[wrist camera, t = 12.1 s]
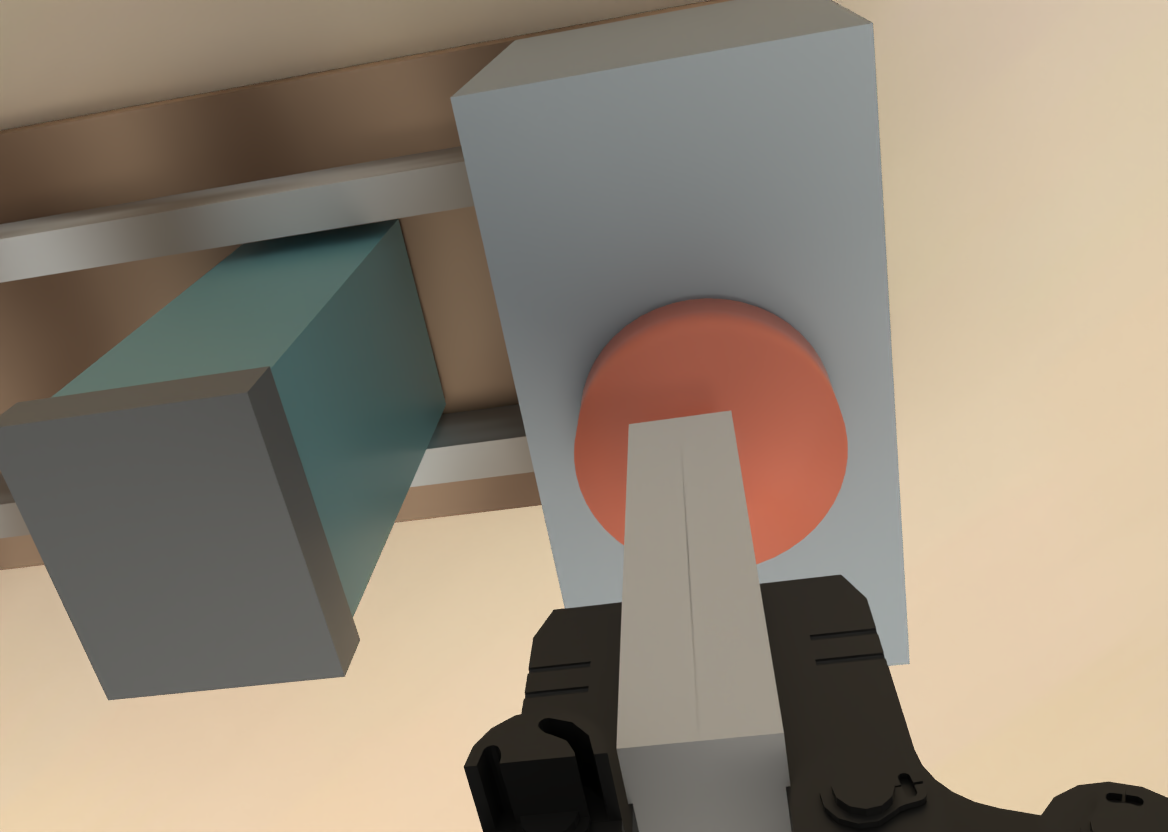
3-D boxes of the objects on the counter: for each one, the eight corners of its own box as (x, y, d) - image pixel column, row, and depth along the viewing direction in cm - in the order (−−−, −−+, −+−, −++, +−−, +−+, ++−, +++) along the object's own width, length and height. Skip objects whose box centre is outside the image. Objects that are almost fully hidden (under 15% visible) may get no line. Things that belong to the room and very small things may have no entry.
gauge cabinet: (603, 497, 29) (584, 694, 21) (515, 40, 24) (450, 97, 16) (845, 468, 28) (909, 664, 21) (806, -14, 23) (873, 23, 16)
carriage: (296, 431, 28) (107, 700, 19) (232, 237, 26) (-19, 429, 16) (455, 410, 27) (345, 676, 18) (404, 209, 25) (247, 392, 16)
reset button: (608, 477, 22) (598, 584, 18) (570, 275, 20) (550, 352, 16) (825, 451, 21) (856, 556, 18) (806, 240, 19) (837, 312, 16)
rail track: (-78, 563, 32) (-145, 622, 30) (-279, 182, 27) (-382, 211, 25) (840, 450, 29) (858, 506, 26) (801, -17, 24) (818, -7, 21)
